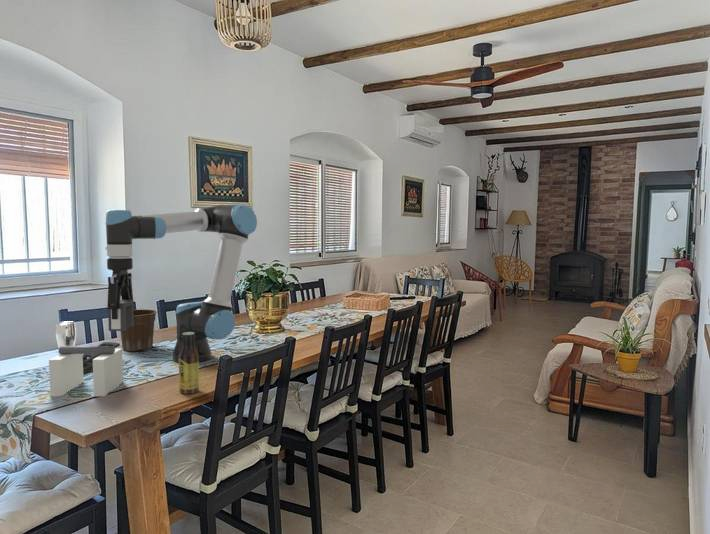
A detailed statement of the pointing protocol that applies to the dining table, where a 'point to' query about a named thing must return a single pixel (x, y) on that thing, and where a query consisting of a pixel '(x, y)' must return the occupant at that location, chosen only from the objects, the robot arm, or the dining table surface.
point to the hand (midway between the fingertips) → (121, 325)
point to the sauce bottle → (188, 365)
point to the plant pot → (139, 331)
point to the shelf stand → (70, 369)
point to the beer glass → (66, 333)
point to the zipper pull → (89, 362)
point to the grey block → (124, 315)
